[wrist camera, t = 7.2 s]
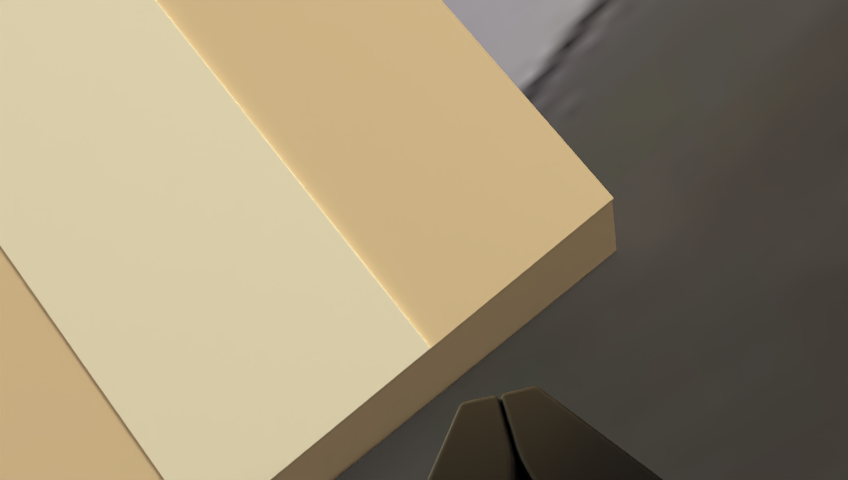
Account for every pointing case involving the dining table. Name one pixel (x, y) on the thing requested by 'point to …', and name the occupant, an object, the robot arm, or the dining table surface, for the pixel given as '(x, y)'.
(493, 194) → the box lid
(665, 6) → the dining table surface
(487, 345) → the cardboard box
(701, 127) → the dining table surface
